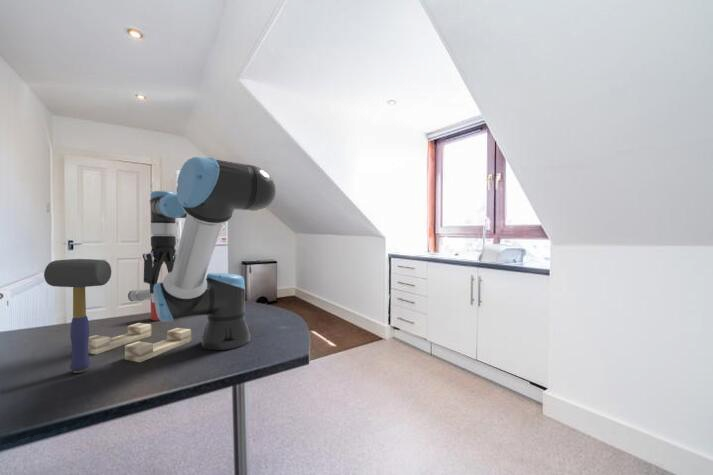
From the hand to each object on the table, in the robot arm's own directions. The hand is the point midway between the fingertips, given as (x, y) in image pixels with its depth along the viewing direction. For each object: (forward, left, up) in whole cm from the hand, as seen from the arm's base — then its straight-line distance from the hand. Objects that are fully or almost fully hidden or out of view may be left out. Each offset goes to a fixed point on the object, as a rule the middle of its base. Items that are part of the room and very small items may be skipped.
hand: (163, 300), depth 111 cm
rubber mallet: (-4, +28, -13) cm, 31 cm away
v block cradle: (-1, +10, -13) cm, 16 cm away
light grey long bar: (0, 0, -1) cm, 1 cm away
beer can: (+21, -16, -13) cm, 29 cm away
